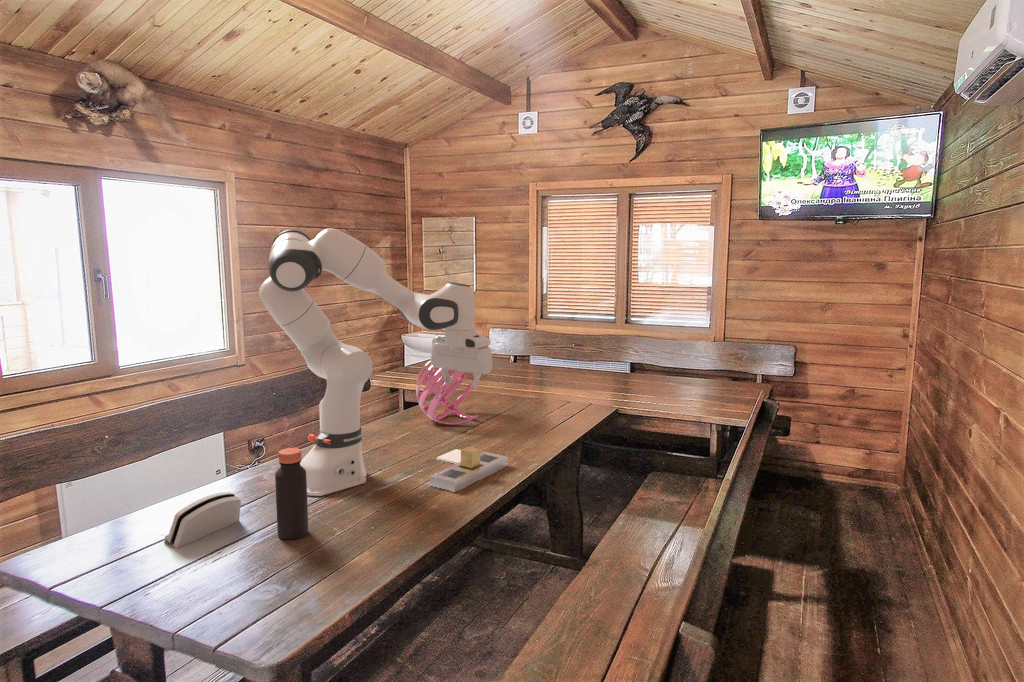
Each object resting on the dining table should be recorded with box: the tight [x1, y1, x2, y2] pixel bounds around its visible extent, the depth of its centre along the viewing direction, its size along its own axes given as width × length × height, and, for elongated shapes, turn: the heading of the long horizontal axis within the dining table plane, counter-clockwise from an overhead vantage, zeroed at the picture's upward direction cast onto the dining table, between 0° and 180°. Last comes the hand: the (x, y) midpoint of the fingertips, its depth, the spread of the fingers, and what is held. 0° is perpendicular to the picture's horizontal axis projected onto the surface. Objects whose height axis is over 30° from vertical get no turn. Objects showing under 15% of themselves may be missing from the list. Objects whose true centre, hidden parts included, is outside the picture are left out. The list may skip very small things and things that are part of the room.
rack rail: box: [429, 451, 509, 493], centre depth 189 cm, size 26×9×3 cm, turn 147°
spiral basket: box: [415, 358, 482, 426], centre depth 245 cm, size 28×28×27 cm
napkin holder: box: [163, 491, 242, 549], centre depth 150 cm, size 17×5×10 cm, turn 152°
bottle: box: [274, 447, 309, 541], centre depth 149 cm, size 7×7×20 cm
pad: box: [435, 448, 462, 465], centre depth 204 cm, size 10×10×1 cm
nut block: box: [460, 446, 481, 471], centre depth 189 cm, size 4×4×8 cm
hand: (461, 385), depth 190 cm, fingers open, 8 cm apart
